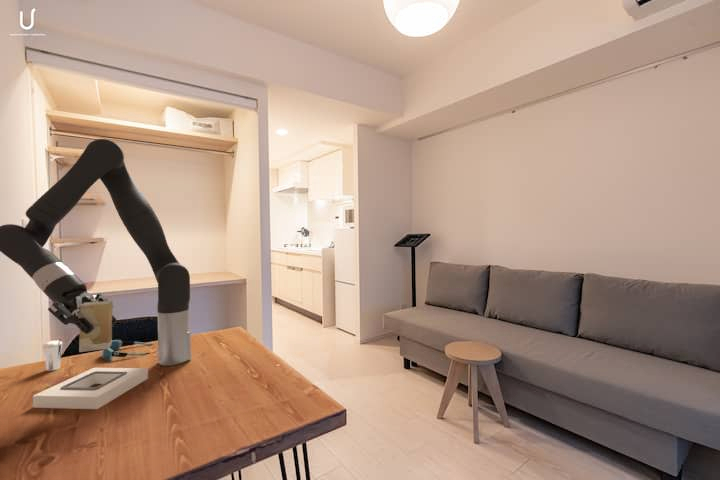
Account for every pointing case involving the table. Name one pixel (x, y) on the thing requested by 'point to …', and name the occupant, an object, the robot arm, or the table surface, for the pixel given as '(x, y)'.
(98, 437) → the table surface
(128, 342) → the sunglasses
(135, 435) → the table surface
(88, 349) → the skincare box
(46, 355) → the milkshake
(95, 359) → the table surface
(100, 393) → the socket plate
